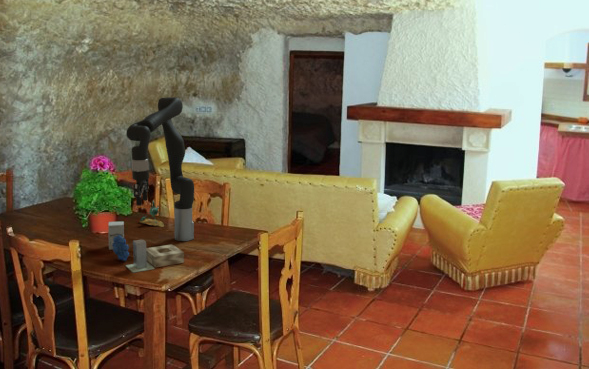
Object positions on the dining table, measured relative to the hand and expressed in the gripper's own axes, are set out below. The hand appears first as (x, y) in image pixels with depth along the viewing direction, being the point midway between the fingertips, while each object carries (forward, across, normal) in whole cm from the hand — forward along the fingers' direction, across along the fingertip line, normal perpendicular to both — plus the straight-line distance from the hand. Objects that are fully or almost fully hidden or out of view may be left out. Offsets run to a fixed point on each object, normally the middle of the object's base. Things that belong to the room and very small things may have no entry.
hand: (142, 202), depth 273 cm
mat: (+27, +14, +2) cm, 30 cm away
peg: (+26, +13, +2) cm, 30 cm away
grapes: (+27, +6, -10) cm, 29 cm away
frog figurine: (+29, -59, -15) cm, 68 cm away
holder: (+27, +2, +10) cm, 29 cm away
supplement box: (+27, -13, -19) cm, 36 cm away
